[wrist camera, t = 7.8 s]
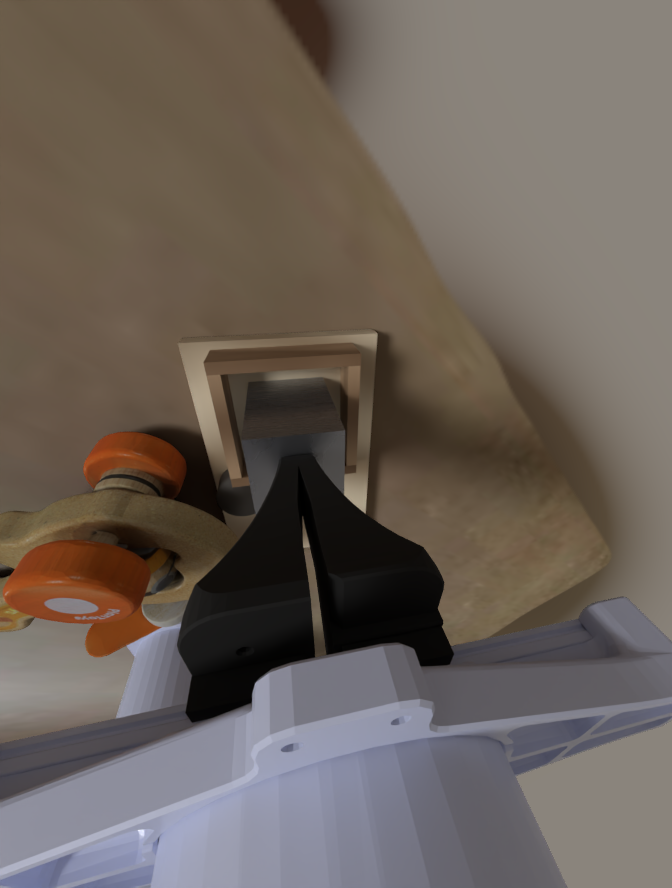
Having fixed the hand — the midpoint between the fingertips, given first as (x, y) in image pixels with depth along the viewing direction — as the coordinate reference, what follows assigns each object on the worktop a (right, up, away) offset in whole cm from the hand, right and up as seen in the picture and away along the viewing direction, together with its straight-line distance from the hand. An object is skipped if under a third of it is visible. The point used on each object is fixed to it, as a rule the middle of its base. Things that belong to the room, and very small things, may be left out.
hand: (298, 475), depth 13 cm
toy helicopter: (-16, -3, +2) cm, 16 cm away
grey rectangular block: (-1, +3, +5) cm, 6 cm away
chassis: (-1, 0, +8) cm, 8 cm away
